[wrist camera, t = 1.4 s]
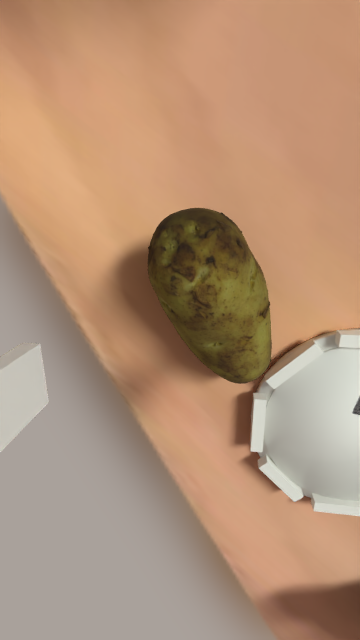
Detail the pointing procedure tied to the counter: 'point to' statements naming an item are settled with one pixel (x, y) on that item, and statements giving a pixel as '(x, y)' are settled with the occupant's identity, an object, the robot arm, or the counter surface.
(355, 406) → the open tongs prop
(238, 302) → the potato
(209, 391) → the counter surface
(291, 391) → the plate
